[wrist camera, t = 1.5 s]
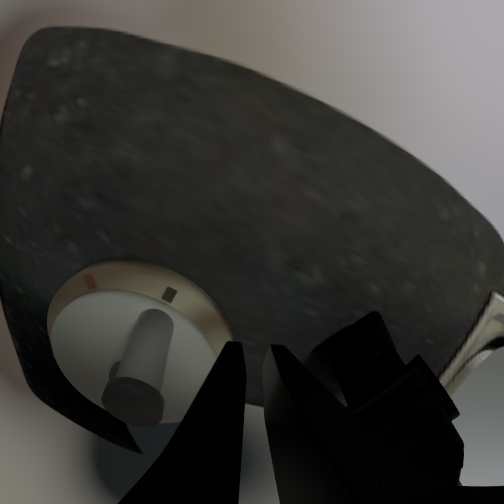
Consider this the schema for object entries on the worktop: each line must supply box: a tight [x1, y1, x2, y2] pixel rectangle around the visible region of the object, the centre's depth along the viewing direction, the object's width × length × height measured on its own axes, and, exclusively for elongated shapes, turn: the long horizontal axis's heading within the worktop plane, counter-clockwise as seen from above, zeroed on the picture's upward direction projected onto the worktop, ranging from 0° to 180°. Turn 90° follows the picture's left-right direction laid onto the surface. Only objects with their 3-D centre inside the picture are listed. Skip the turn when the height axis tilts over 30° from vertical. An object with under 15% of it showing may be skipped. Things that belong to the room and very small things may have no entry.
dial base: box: [47, 258, 234, 357], centre depth 21 cm, size 16×16×2 cm
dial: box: [51, 289, 217, 426], centre depth 16 cm, size 14×14×8 cm
